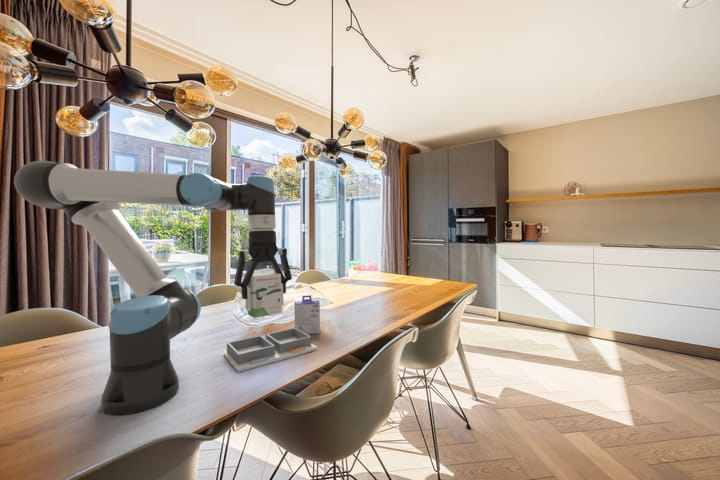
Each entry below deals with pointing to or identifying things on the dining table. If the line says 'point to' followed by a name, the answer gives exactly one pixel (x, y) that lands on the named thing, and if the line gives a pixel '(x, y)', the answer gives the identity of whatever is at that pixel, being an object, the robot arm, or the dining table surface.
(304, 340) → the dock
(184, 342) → the dining table surface
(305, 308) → the ink cartridge box
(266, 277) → the ink box
